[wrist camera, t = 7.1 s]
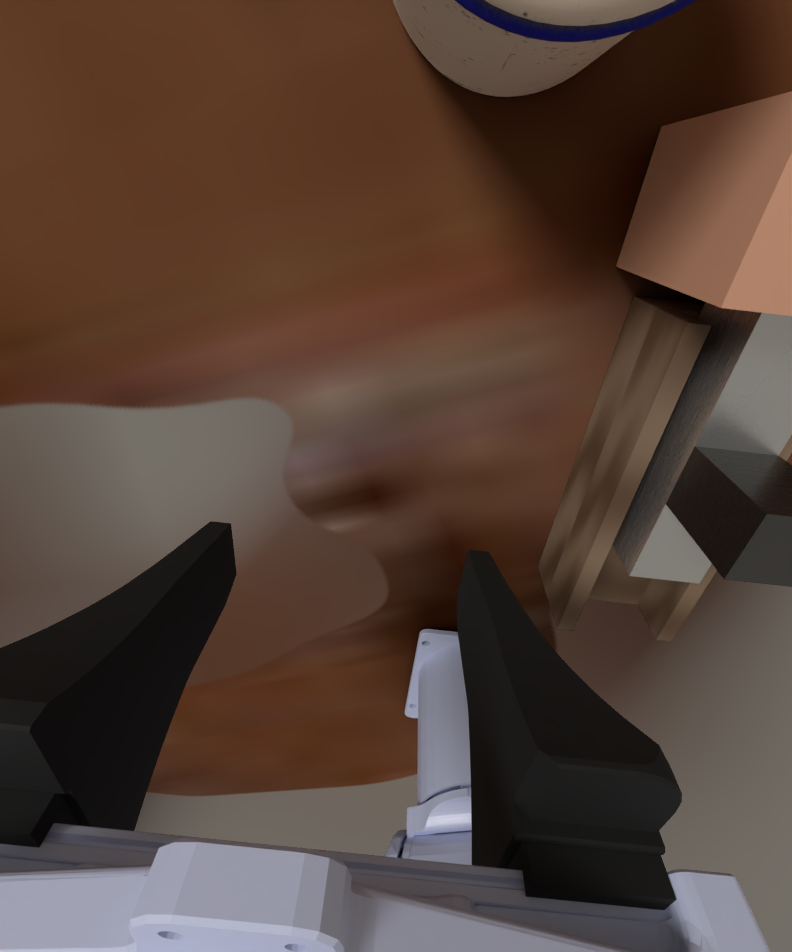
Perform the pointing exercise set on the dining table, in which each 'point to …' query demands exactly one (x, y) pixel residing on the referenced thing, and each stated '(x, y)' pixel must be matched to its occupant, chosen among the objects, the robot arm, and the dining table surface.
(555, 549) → the guide channel
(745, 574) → the slide bar
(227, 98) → the dining table surface
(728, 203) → the tan square block
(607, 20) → the teacup with lid
